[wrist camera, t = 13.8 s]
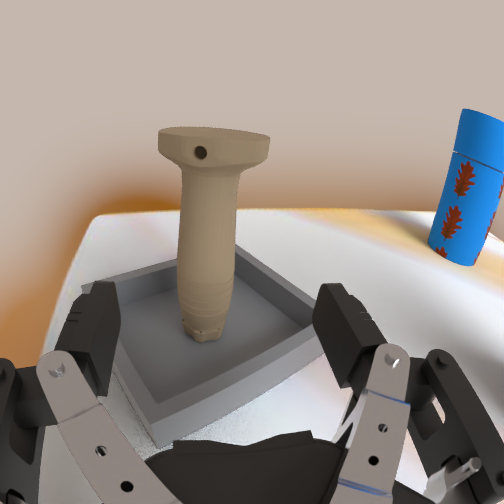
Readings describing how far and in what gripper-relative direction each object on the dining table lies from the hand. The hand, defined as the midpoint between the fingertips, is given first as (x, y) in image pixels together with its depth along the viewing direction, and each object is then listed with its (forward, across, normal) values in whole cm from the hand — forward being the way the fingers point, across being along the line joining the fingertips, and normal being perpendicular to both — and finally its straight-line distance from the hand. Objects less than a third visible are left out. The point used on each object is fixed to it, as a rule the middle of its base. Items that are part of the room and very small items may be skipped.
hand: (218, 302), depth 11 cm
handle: (+9, 0, +10) cm, 13 cm away
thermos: (+25, -44, +11) cm, 52 cm away
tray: (+9, 0, +11) cm, 14 cm away
